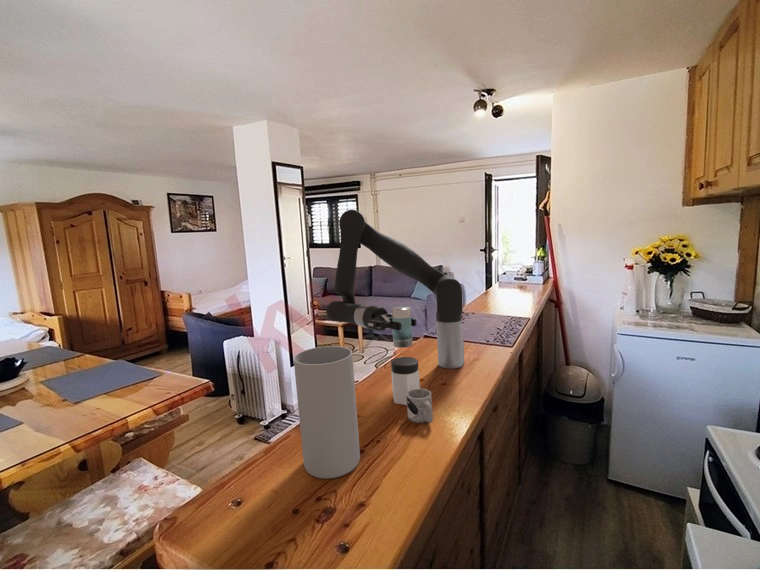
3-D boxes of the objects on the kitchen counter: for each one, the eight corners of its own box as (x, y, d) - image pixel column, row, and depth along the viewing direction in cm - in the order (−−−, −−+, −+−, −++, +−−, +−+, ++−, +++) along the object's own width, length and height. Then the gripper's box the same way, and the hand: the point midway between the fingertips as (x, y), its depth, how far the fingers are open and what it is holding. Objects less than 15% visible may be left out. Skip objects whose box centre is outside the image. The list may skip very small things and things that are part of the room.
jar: (402, 408, 107) (400, 368, 105) (386, 399, 114) (384, 361, 112) (426, 399, 112) (424, 361, 110) (409, 390, 119) (407, 354, 117)
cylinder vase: (306, 486, 75) (295, 368, 72) (301, 453, 87) (292, 351, 84) (366, 472, 79) (357, 359, 76) (353, 442, 91) (346, 343, 88)
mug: (403, 414, 103) (402, 391, 103) (425, 409, 106) (423, 386, 105) (420, 431, 94) (419, 406, 93) (443, 424, 96) (442, 400, 96)
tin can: (402, 340, 115) (401, 305, 113) (416, 344, 110) (414, 308, 109) (389, 345, 111) (387, 309, 109) (403, 348, 107) (401, 311, 105)
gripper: (352, 309, 115) (389, 316, 103) (386, 302, 125) (424, 307, 112) (353, 333, 116) (390, 342, 104) (387, 324, 126) (425, 332, 113)
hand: (407, 324), depth 108 cm, fingers closed on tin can, 5 cm apart
